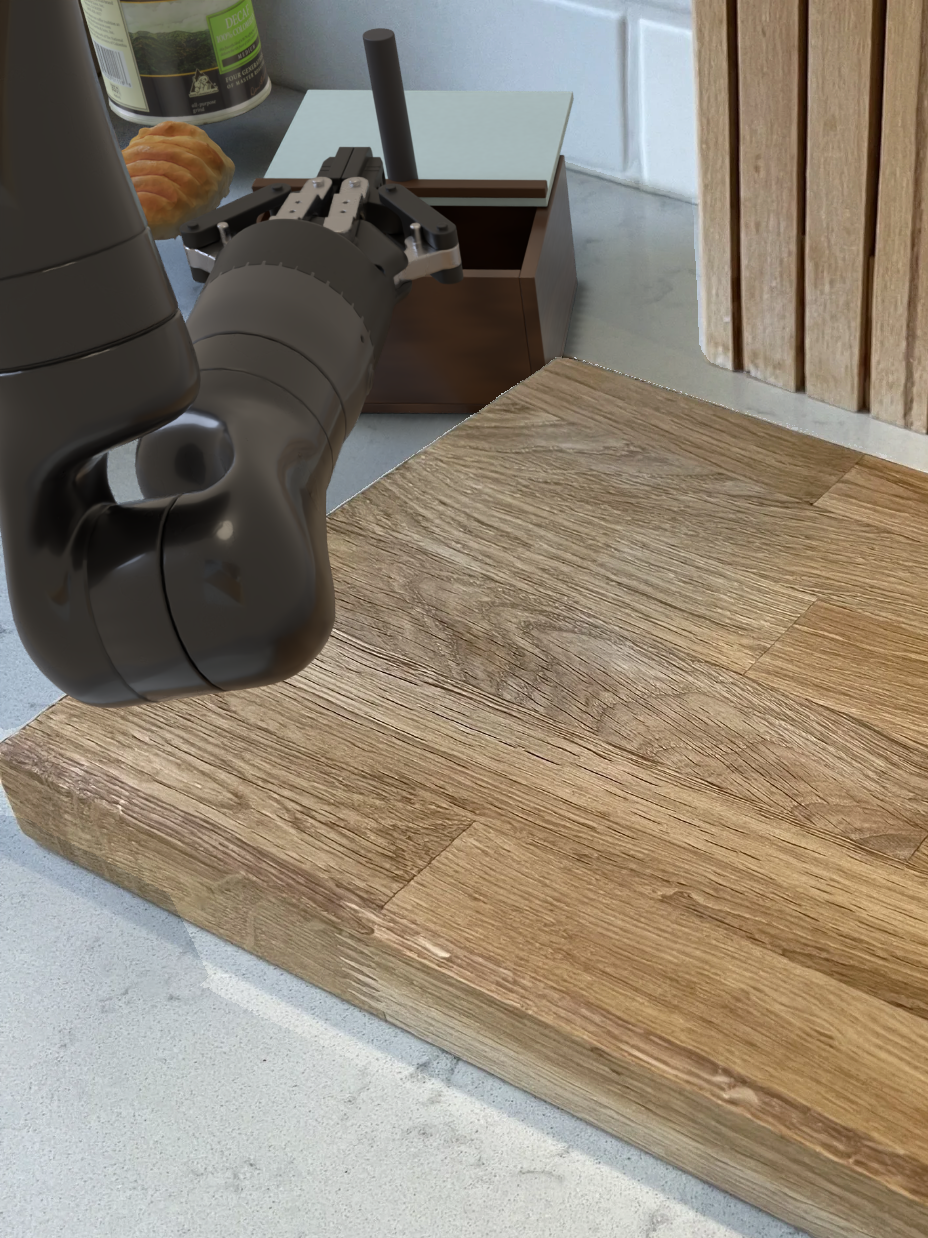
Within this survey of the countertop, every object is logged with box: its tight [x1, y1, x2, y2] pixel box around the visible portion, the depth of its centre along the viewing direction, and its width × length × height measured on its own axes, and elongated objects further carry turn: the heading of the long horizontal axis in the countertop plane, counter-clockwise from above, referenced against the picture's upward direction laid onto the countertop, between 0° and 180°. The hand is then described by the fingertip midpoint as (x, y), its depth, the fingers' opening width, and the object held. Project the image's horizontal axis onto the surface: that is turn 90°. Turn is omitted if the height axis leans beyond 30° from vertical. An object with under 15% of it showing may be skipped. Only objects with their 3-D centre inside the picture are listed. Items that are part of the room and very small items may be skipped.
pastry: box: [121, 121, 236, 241], centre depth 100 cm, size 9×7×4 cm
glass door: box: [251, 27, 575, 206], centre depth 95 cm, size 16×14×8 cm
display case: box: [257, 154, 578, 414], centre depth 96 cm, size 16×14×8 cm
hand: (359, 165), depth 85 cm, fingers closed
